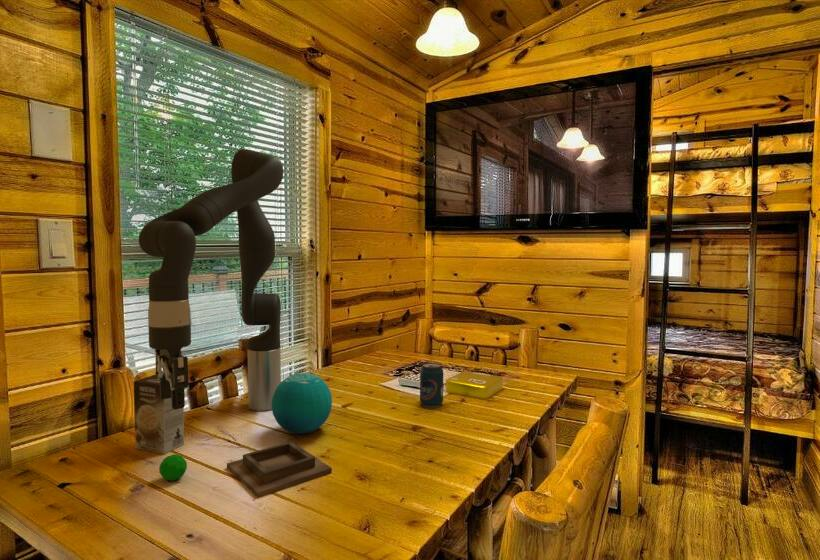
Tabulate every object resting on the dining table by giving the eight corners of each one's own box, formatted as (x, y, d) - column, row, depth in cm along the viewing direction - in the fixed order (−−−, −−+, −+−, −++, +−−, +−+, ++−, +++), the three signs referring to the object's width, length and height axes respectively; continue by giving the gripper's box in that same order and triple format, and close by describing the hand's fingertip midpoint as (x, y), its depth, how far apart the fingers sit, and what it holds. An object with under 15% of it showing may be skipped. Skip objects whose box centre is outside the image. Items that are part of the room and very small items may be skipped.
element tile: (504, 389, 163) (504, 375, 163) (486, 401, 150) (486, 386, 150) (463, 382, 171) (463, 368, 171) (443, 393, 158) (443, 378, 158)
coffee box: (133, 449, 113) (131, 380, 111) (156, 438, 119) (154, 374, 117) (164, 454, 110) (162, 384, 108) (186, 444, 116) (184, 377, 114)
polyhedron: (169, 487, 95) (168, 463, 95) (154, 480, 98) (153, 457, 97) (192, 477, 99) (191, 454, 99) (177, 471, 102) (177, 448, 101)
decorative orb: (259, 438, 119) (258, 378, 118) (294, 418, 133) (293, 364, 132) (312, 447, 114) (312, 384, 113) (342, 425, 128) (342, 369, 127)
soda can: (416, 406, 144) (416, 366, 143) (424, 399, 150) (424, 361, 149) (438, 409, 141) (439, 368, 140) (446, 402, 148) (446, 363, 147)
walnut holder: (226, 467, 103) (226, 454, 103) (295, 448, 114) (295, 435, 113) (257, 497, 91) (257, 482, 91) (331, 472, 101) (331, 458, 101)
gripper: (201, 325, 93) (203, 408, 94) (179, 317, 104) (181, 391, 105) (158, 329, 88) (160, 416, 89) (140, 320, 99) (142, 398, 100)
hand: (172, 403), depth 97 cm, fingers open, 8 cm apart
